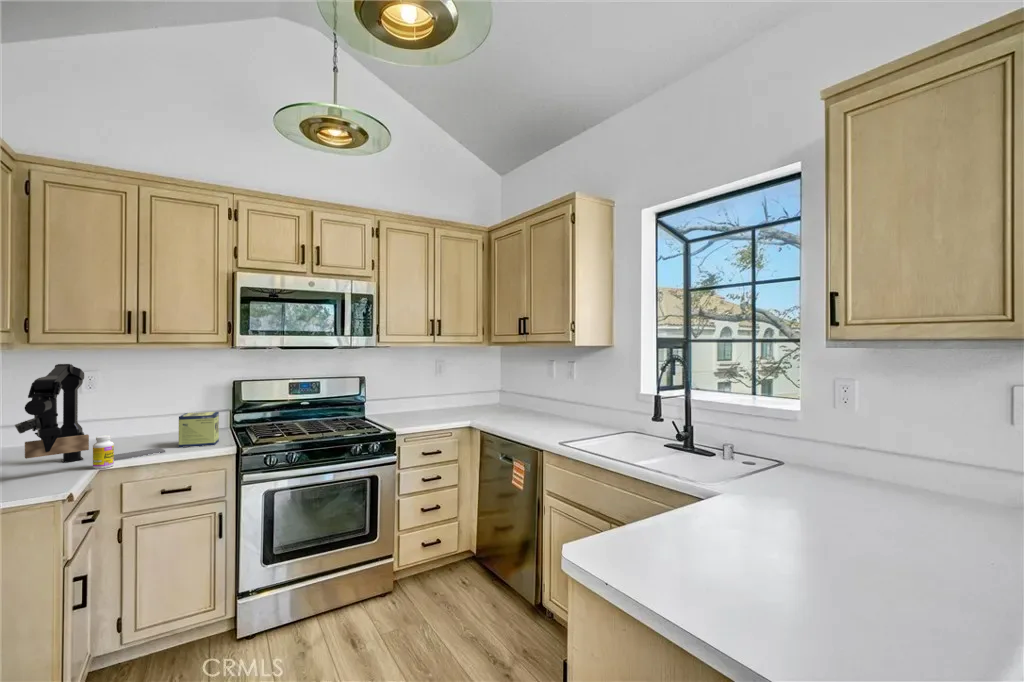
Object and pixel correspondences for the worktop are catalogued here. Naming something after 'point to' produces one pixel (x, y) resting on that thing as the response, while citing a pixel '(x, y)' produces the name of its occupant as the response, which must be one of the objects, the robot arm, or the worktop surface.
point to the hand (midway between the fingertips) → (47, 451)
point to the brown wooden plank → (57, 446)
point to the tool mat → (137, 453)
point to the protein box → (198, 429)
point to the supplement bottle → (103, 452)
